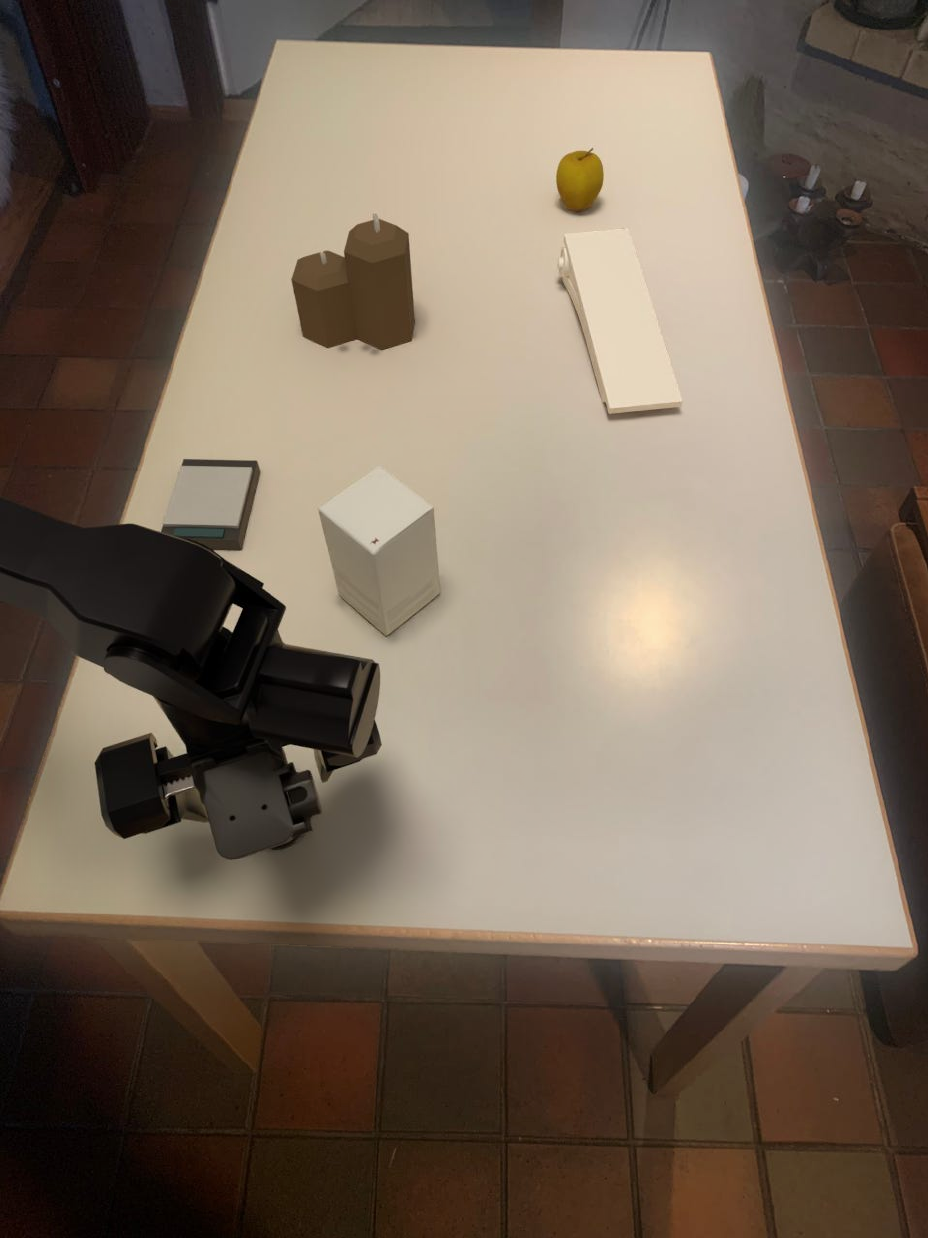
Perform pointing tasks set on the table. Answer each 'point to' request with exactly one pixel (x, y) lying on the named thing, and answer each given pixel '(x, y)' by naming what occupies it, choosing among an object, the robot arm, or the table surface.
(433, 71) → the table surface
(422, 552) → the white packaging box
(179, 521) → the kitchen scale
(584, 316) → the wall bracket
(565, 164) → the apple
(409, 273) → the candle
